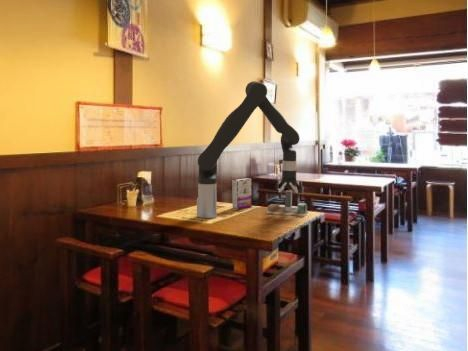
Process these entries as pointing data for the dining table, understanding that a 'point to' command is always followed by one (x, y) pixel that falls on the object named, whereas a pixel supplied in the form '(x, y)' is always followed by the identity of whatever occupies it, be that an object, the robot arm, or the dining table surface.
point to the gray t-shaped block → (289, 202)
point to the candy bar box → (242, 193)
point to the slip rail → (281, 211)
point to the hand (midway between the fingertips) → (288, 199)
